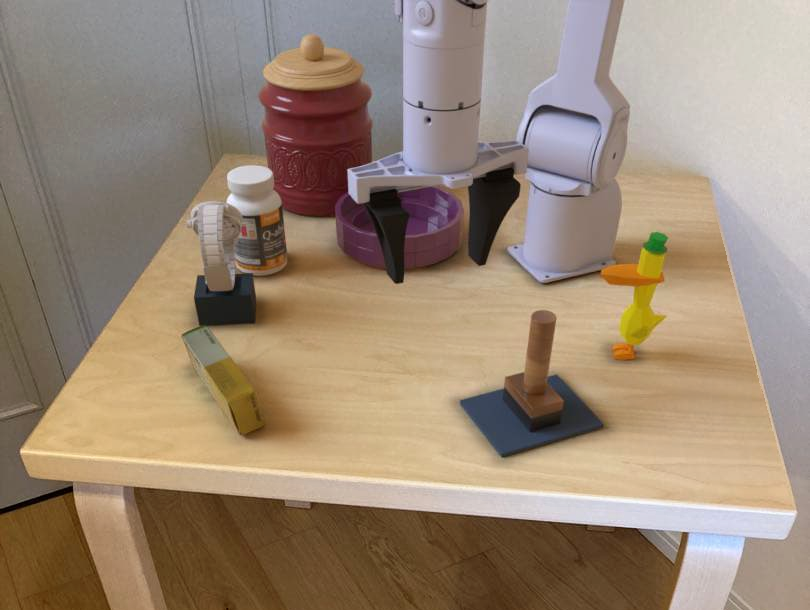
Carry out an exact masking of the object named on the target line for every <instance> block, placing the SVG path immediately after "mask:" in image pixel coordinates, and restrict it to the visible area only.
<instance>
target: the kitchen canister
mask: <svg viewBox="0 0 810 610" xmlns="http://www.w3.org/2000/svg"><path fill="white" fill-rule="evenodd" d="M324 45H325V44H324V42H323V40H322V39H321V37H320V36H318V35H317V34H315V33H314V34H313V33H309V34H306V35H305V36H303V37H302V39H301V42H300V46H299V47H295V48H291V49H288V50H285V51H282V52H280V53H278V54H277V55H276V56H275V57H274V59H273V60H271V61H270V62H269V63H268V64H266V65H265V67H264V68H263V70H262V75H263V77H264V79H265V80H266V81H267V82H266V83H265V84H263V85H262V86H261V87H260V89H259V91H258V94H257V98H258V101H259V102H260V104H261V105H262V106H263V108H264V119H263V120H262V122H261V129H262V132H263V137H264V144H265V152H266V153H265V154H266V162H267V168H269V169H270V170H271V171H272V172H273V177H274V188H273V190H274V191H276V192H277V193H278V195H279V196H280V198H281V201H282V209H283V210H285V211H288V212H290V213H294V214H299V215H303V216H304V215H305V216H312V217H313V216H316V217H317V216H318V217H321V216H334V215H335V205H336V203H337V202H338V200H339V199H340V197H341V196H343V195H344V194H346V193H347V192H349V191H348V169H350V168H355V167H359V166H363V165H366V164H369V163H372V162H373V143H372V141H373V140H372V129H373V126H374V122H373V118H372V117H371V116H370V114H369V107H368V103H369V102H370V100H371V99H372V97H373V91H372V88H371V86H370V85H369V84H368V82H366V81H364V80H363V79H362V77H363V75H364V74H365V68H364V65H362V64H361V62H360V61H358V60H356V59H355V58H353V57H351V55H350V54H349V53H347V51H344V50H342V49H338V48H334V47H328V46H324Z"/></svg>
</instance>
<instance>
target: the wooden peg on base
mask: <svg viewBox="0 0 810 610" xmlns="http://www.w3.org/2000/svg"><path fill="white" fill-rule="evenodd" d="M556 324H557V315H556V314H555V313H554V312H552V311H550V310H547V309H546V310H545V309H539V310H535V311H533V312H532V314H531V315H530V324H529V332H528V339H527V346H526V347H527V348H526V355H525V362H524V371H523V372H519V373H518V372H517V373H515V374H512V375H511V374H510V375H507V376H505V377H504V382H503V383H504V384H503V389H504V392H503V401H504V402H505V403H506V404H507V406H508V407H509V408H510V409H511V410H512V412H513V413H514V414H515V415H516V416H517V418H518V419H519V420H520V421H521V422H522V423H523V425H524V426H525V427H526V428H527V429H528V431H529V432H533V431H536V430H540V429H543V428H547V427H550V426H554V425H557V424H560V420H561V415H562V409H563V403H564V400H563V399H562V398H561V397H560V396H559V395H558V394H557V393H556V392H555V390H554V389H553V388H552V387H551V386H550V385H549V384H548V383H547V378H548V377H549V372H550V364H551V358H552V351H553V344H554V337H555V331H556Z"/></svg>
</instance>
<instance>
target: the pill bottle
mask: <svg viewBox="0 0 810 610" xmlns="http://www.w3.org/2000/svg"><path fill="white" fill-rule="evenodd" d="M226 179H227V187H228V189H229V191H230V192H231V193H230V194H229V196H228V197H227V199H226V203H228V204H230V205H232V206H234V207H235V208H237V209H238V210H239V211H240V213H241V214H242V220H243V221H242V230H241V232H240V235H239V239H238V244H237V245H234V251H235V267H236V268H237V269H238V270H239V271H240V272H241V273H253V277H254V276H256V277H258V276H259V277H262V276H269V275H273V274H276V273H278V272H280V271H282V270H283V269H285V267H286V265H287V264H288V249H287V240H286V239H287V237H286V231H285V220H284V219H285V218H284V208H282V201H281V198H280V196H279V195H278V193H277V192H276V191H274V190H273V188H274V177H273V172H272V171H271V170H270V169H269V168H268V167H266V166H263V165H257V164H256V165H255V164H254V165H252V164H250V165H249V164H248V165H241V166H238V167H235V168H233V169H231V170H229V172H228V173H227V175H226Z"/></svg>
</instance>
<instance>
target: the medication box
mask: <svg viewBox="0 0 810 610" xmlns="http://www.w3.org/2000/svg"><path fill="white" fill-rule="evenodd" d="M181 338H182V341H183V344H184V345H185V349H186V352H187V354H188V357H189V359H190V362H191V365H192V367H193V369H194V370H195V372H196V373H197V374H198V376H199V378H200V379H201V381H202V382H203V383H204V385H205V387H206V388H207V389H208V391H209V392H210V395H212V397H213V398H214V400H215V401H216V403H217V404H218V405H219V407H220V409H221V410H222V411H223V413H224V414H225V416H226V417H227V419H228V420H229V423H231V425H232V426H233V428H234V429H235V431H236V432H237V434H238V435H239V436H241V437H243V435H246V434H248V433H251V432H253V431H255V430H257V429H259V428H261V427H263V426H266V421H265V417H264V414H263V411H262V407H261V404H260V401H259V397H258V394H257V392H256V390H255V388H254V387H253V385H252V384H251V383H250V382H249V380H248V378H247V377H246V376H245V374H244V373H243V372H242V370H241V369H240V368H239V367H238V365H237V364H236V363H235V361H234V360H233V359H232V357H231V355H229V353H228V352H227V350H226V349H225V348H224V346H222V344H221V342H220V341H219V339H218V338H217V337H216V336H215V335H214V333H213V332H212V331H211V329H210V328H209V327H208V325H203V326H197V327H195V328H192V329H189V330H187V331H186V332H184V333H182V334H181Z"/></svg>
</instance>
